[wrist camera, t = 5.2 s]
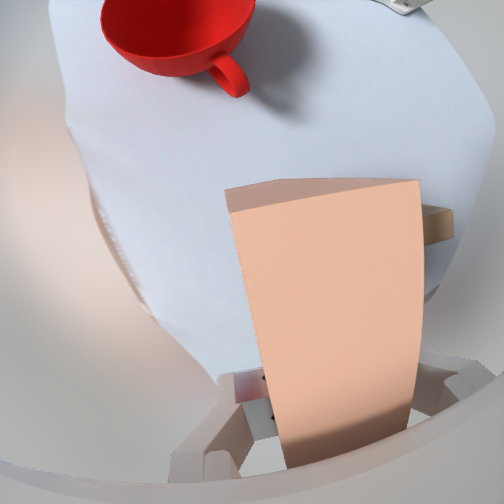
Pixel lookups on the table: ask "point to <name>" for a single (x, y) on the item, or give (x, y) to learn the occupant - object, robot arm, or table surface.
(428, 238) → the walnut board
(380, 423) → the peach notched block
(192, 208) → the table surface
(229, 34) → the ceramic cup
